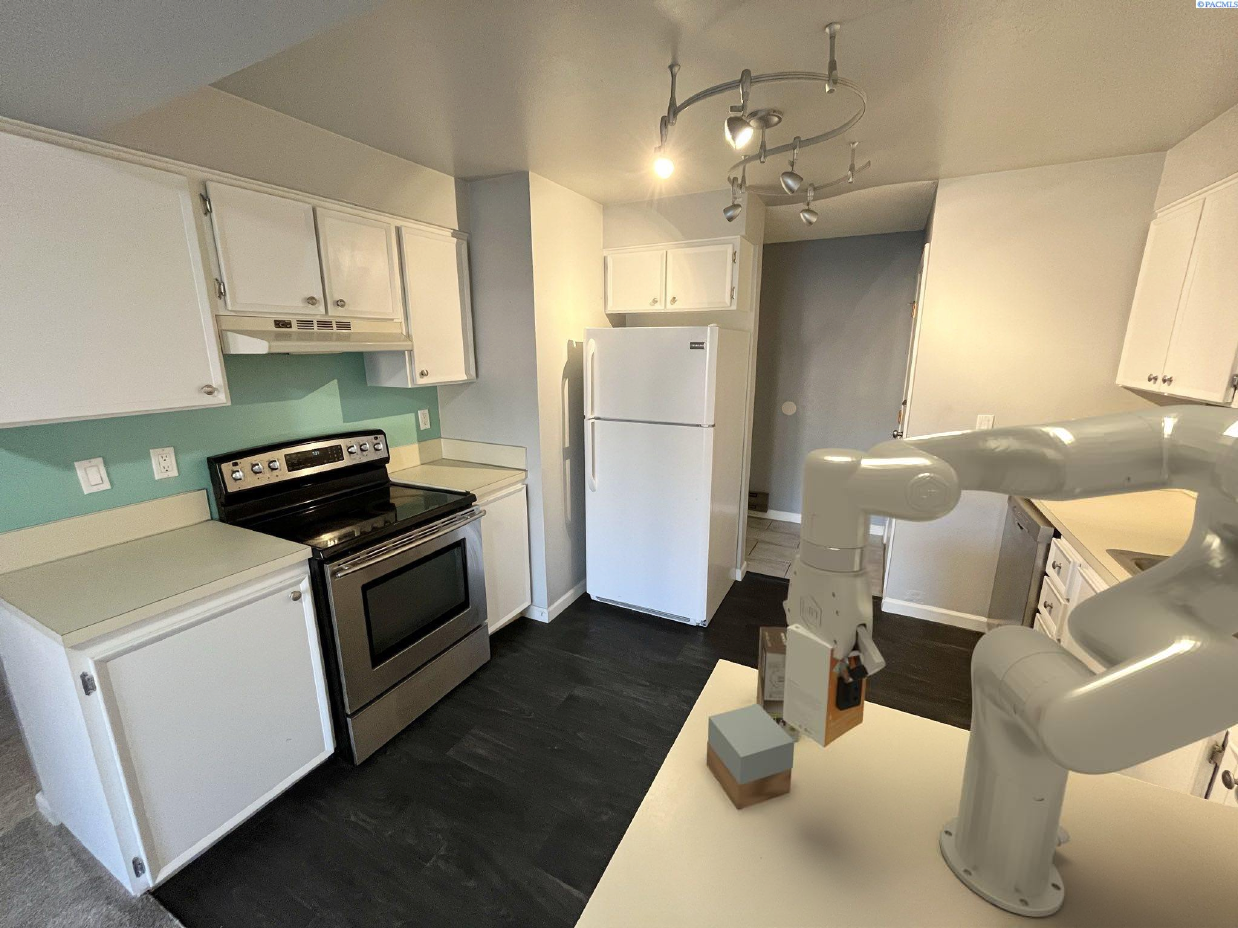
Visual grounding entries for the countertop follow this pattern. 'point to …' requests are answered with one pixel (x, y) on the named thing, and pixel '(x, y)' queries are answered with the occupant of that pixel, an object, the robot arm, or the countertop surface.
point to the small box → (815, 688)
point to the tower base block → (751, 790)
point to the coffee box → (773, 675)
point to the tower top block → (750, 743)
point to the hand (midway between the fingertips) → (824, 686)
